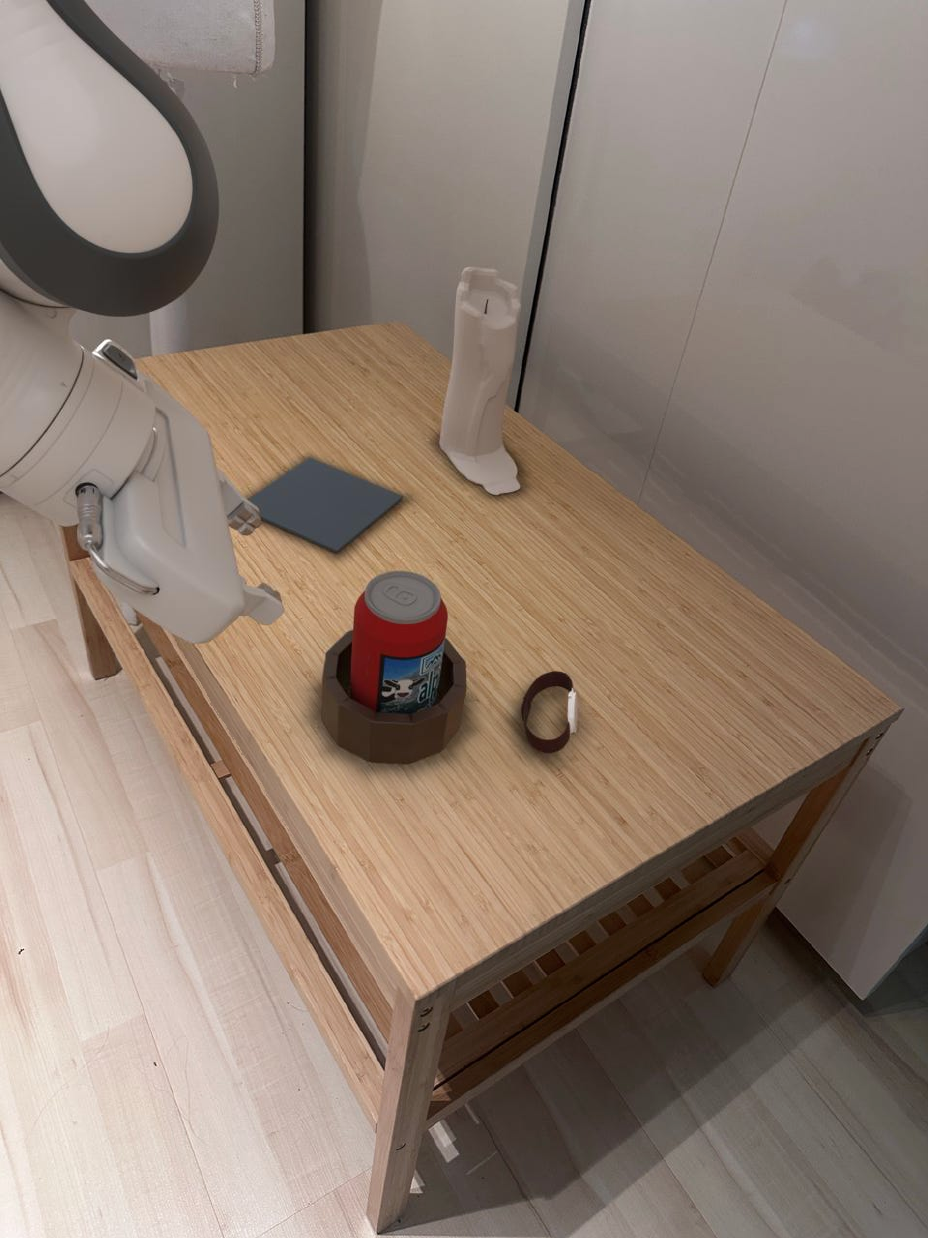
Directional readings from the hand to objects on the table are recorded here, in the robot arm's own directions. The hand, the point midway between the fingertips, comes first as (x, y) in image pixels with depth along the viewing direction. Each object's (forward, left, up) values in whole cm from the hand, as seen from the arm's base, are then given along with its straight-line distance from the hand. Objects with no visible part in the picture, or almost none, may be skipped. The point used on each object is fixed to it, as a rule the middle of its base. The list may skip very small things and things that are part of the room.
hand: (264, 565), depth 57 cm
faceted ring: (+7, +6, -15) cm, 17 cm away
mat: (-14, +26, -15) cm, 33 cm away
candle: (-5, +44, -15) cm, 47 cm away
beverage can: (+7, +6, -15) cm, 18 cm away
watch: (+18, +12, -15) cm, 26 cm away
